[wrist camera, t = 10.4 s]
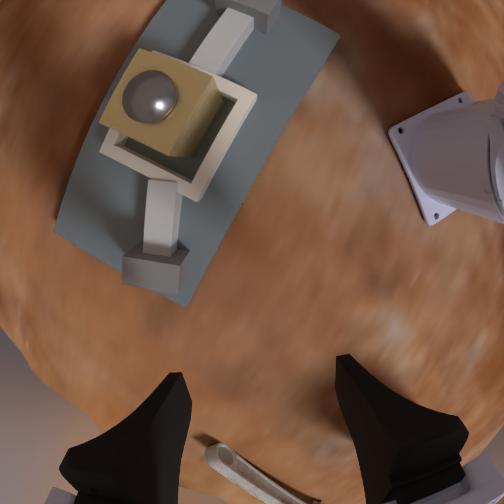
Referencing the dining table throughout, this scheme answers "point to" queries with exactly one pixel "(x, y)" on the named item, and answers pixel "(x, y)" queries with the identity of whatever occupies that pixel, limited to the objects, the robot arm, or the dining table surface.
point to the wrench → (248, 476)
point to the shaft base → (210, 152)
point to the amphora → (500, 501)
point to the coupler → (164, 104)
